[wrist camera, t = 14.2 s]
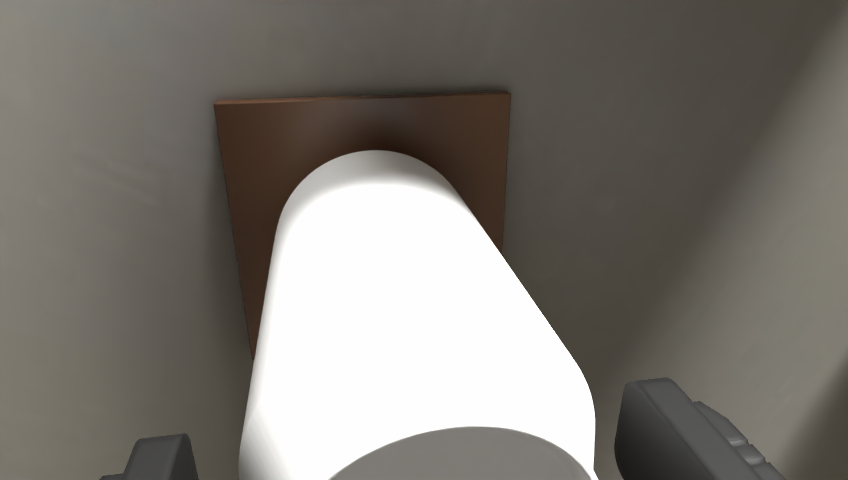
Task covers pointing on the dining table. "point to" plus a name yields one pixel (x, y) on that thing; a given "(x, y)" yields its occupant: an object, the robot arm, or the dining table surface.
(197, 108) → the dining table surface
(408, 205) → the beverage can
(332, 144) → the coaster
